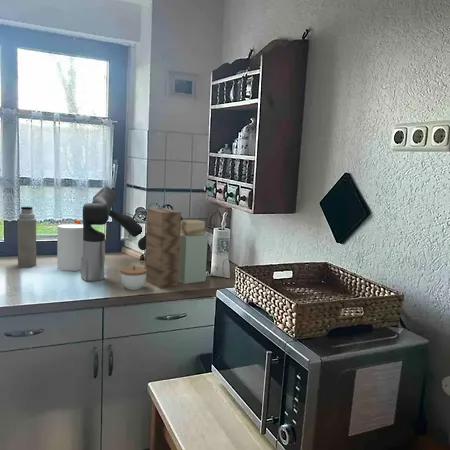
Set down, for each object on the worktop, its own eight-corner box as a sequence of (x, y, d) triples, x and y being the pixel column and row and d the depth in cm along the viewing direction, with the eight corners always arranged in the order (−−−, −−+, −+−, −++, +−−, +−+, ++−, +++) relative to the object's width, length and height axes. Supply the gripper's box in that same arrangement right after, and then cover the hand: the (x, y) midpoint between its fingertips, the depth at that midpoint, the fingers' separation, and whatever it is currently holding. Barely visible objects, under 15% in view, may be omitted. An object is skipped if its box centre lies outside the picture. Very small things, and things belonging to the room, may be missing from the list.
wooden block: (204, 235, 201) (205, 221, 200) (187, 236, 196) (187, 222, 195) (178, 227, 220) (178, 215, 220) (161, 227, 215) (162, 215, 214)
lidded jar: (114, 287, 186) (115, 265, 185) (135, 282, 195) (135, 261, 193) (131, 293, 180) (131, 270, 178) (151, 288, 188) (152, 266, 187)
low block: (184, 283, 197) (186, 236, 194) (170, 276, 208) (172, 232, 205) (205, 281, 204) (207, 235, 201) (190, 274, 214) (192, 230, 211)
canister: (86, 270, 211) (86, 228, 208) (55, 270, 207) (55, 227, 205) (87, 263, 224) (88, 224, 221) (59, 263, 220) (59, 223, 218)
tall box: (159, 288, 189) (162, 212, 184) (144, 279, 200) (147, 208, 195) (178, 285, 194) (181, 212, 189) (163, 277, 205) (165, 208, 201)
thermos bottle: (29, 262, 219) (29, 205, 216) (39, 265, 215) (39, 207, 211) (14, 265, 213) (13, 206, 209) (24, 268, 209) (24, 208, 205)
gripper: (145, 224, 224) (158, 211, 211) (170, 223, 232) (185, 210, 220) (148, 238, 222) (162, 226, 209) (173, 236, 230) (188, 225, 217)
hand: (173, 218), depth 214 cm, fingers open, 8 cm apart
